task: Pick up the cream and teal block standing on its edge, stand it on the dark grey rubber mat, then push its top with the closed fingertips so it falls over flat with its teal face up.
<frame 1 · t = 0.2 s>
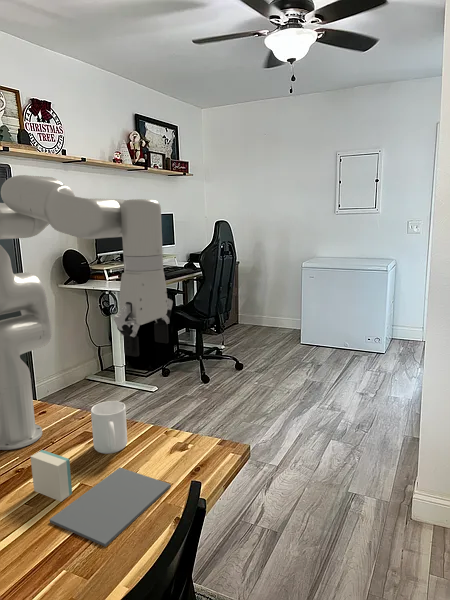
hand: (147, 348, 92), 31 cm above the table, tool pointing down, fingers open, 9 cm apart
mat: (113, 503, 92), on the table
cream and teal block: (53, 492, 96), on the table
mug: (111, 450, 113), on the table
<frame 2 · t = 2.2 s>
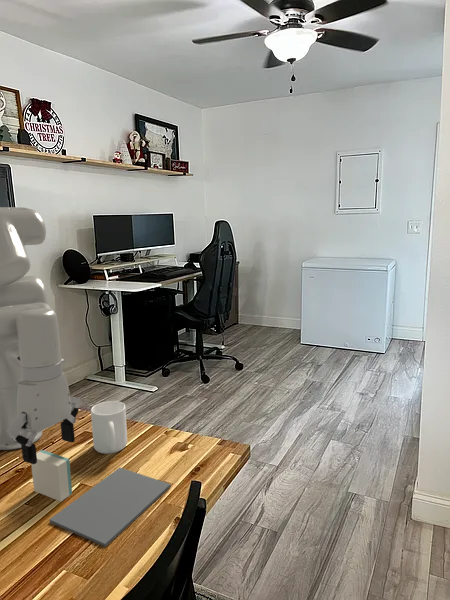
hand: (50, 451, 93), 10 cm above the table, tool pointing down, fingers open, 9 cm apart
nothing on the table moved.
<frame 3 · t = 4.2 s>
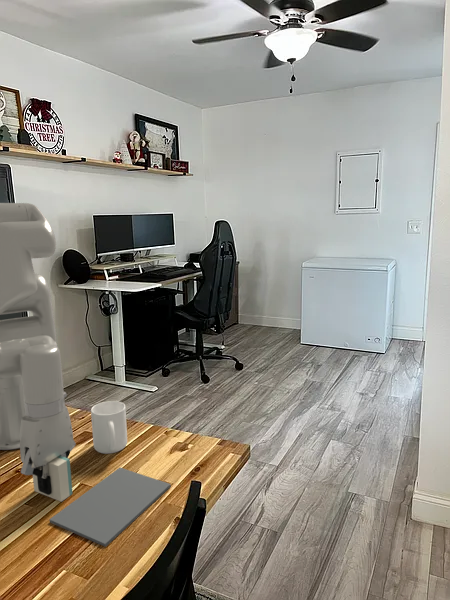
hand: (52, 486, 96), 1 cm above the table, tool pointing down, fingers closed on cream and teal block, 3 cm apart
cream and teal block: (53, 492, 96), on the table, touching gripper
everything else where it was.
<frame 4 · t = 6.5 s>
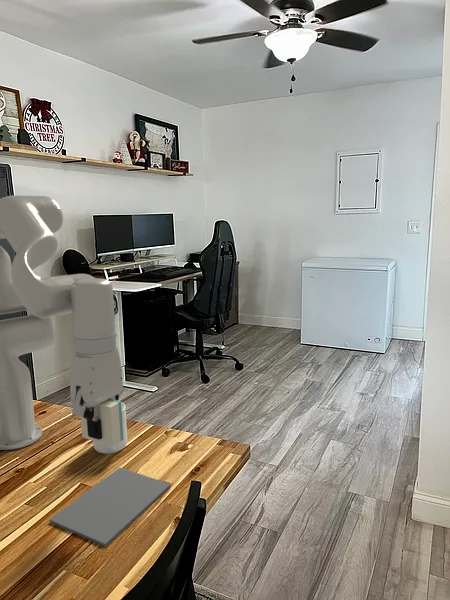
hand: (101, 432, 90), 15 cm above the table, tool pointing down, fingers closed on cream and teal block, 3 cm apart
cream and teal block: (102, 438, 90), point 14 cm above the table, touching gripper
everything else where it was.
when the fingers open (2 cm above the table, at t = 9.3 s): cream and teal block stays where it is, resting on mat.
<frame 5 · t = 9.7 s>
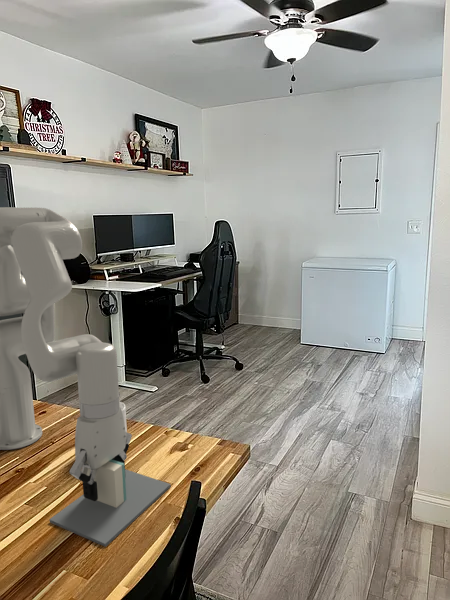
hand: (105, 487, 92), 3 cm above the table, tool pointing down, fingers open, 7 cm apart
cream and teal block: (106, 497, 93), point 1 cm above the table, touching mat
everything else where it was.
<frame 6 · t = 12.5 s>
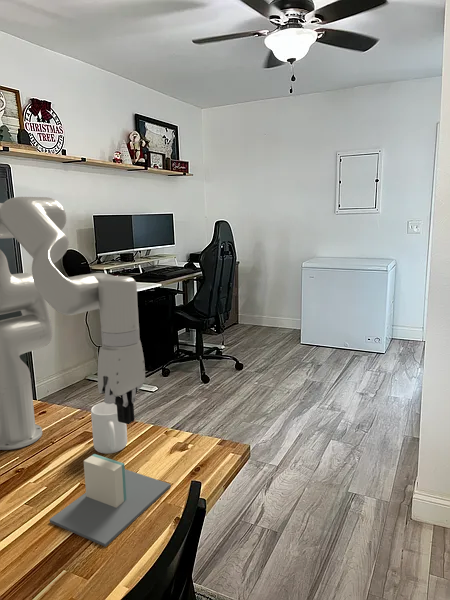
hand: (126, 421, 96), 14 cm above the table, tool pointing down, fingers closed
nothing on the table moved.
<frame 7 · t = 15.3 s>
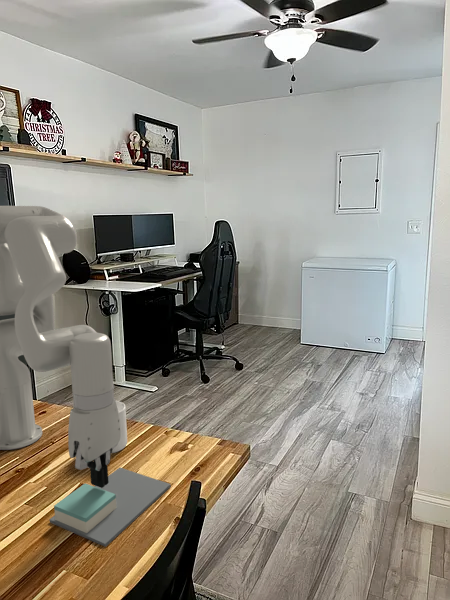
hand: (99, 483, 91), 5 cm above the table, tool pointing down, fingers closed
cream and teal block: (100, 495, 91), point 2 cm above the table, tilted 90°, touching mat
everything else where it was.
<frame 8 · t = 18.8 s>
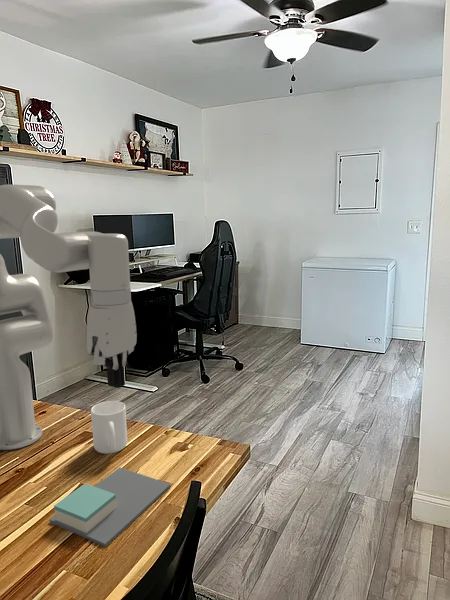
hand: (116, 385, 93), 23 cm above the table, tool pointing down, fingers closed
nothing on the table moved.
at the end: cream and teal block tilted 90°; cream and teal block inside the target area on the mat (2.5 cm from its centre), point 2.1 cm above the mat's base; the gripper is holding nothing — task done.
